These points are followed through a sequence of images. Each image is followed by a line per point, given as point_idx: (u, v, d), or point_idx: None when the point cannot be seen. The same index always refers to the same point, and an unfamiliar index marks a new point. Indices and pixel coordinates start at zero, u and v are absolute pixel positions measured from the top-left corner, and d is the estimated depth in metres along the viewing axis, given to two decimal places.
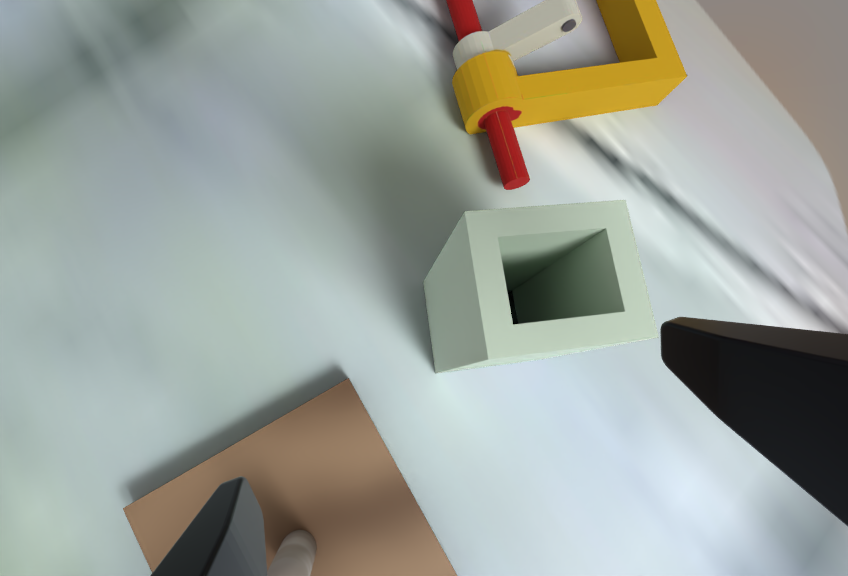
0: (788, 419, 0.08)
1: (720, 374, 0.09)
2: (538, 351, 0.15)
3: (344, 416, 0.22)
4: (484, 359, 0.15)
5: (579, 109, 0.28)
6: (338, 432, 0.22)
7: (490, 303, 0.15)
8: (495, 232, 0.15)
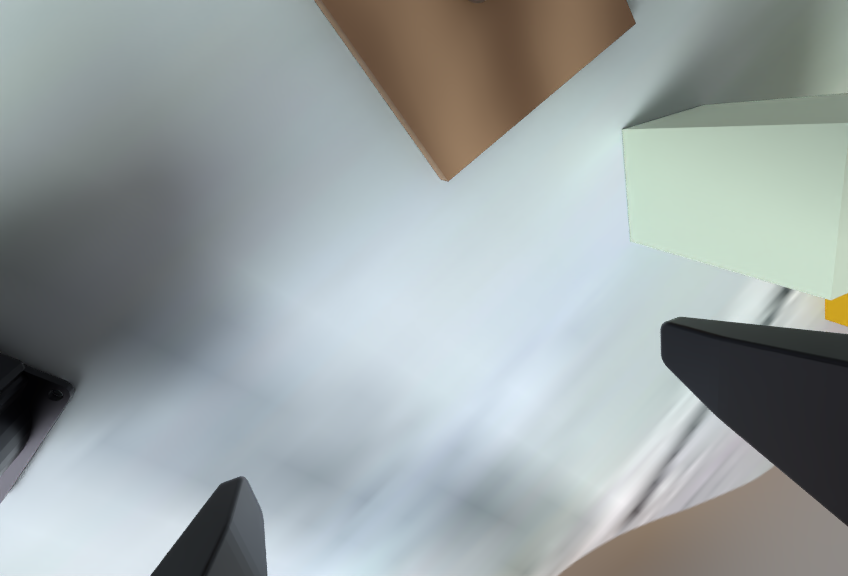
0: (788, 419, 0.08)
1: (720, 374, 0.09)
2: (845, 177, 0.14)
3: (601, 22, 0.20)
4: (832, 123, 0.14)
5: None
6: (586, 17, 0.19)
7: None
8: None
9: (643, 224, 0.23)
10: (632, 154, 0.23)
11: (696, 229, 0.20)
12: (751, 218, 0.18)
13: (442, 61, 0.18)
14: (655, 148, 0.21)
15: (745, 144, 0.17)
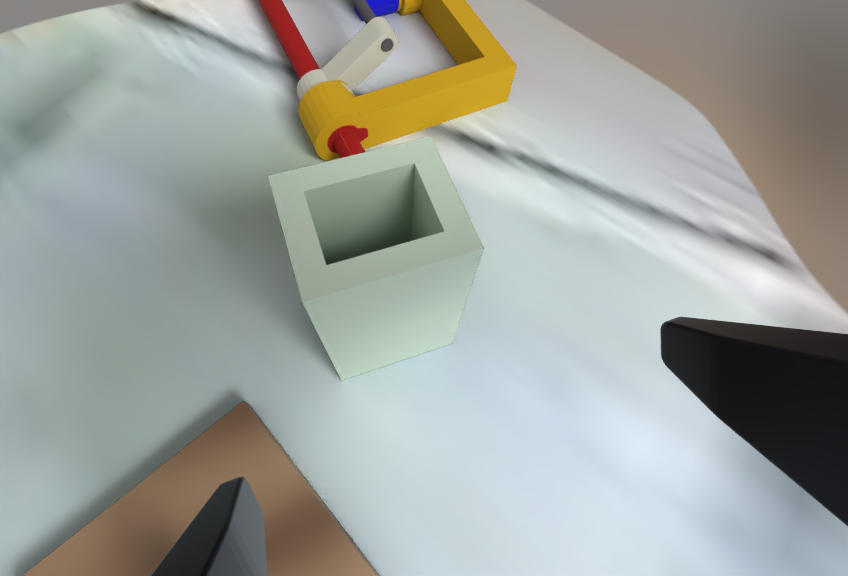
0: (789, 419, 0.08)
1: (720, 374, 0.09)
2: (355, 284, 0.14)
3: (242, 441, 0.20)
4: (305, 307, 0.14)
5: (427, 117, 0.29)
6: (237, 459, 0.20)
7: (300, 250, 0.14)
8: (302, 189, 0.16)
9: (432, 344, 0.23)
10: (364, 369, 0.22)
11: (429, 322, 0.20)
12: (410, 306, 0.17)
13: None
14: (354, 363, 0.21)
15: (337, 332, 0.17)
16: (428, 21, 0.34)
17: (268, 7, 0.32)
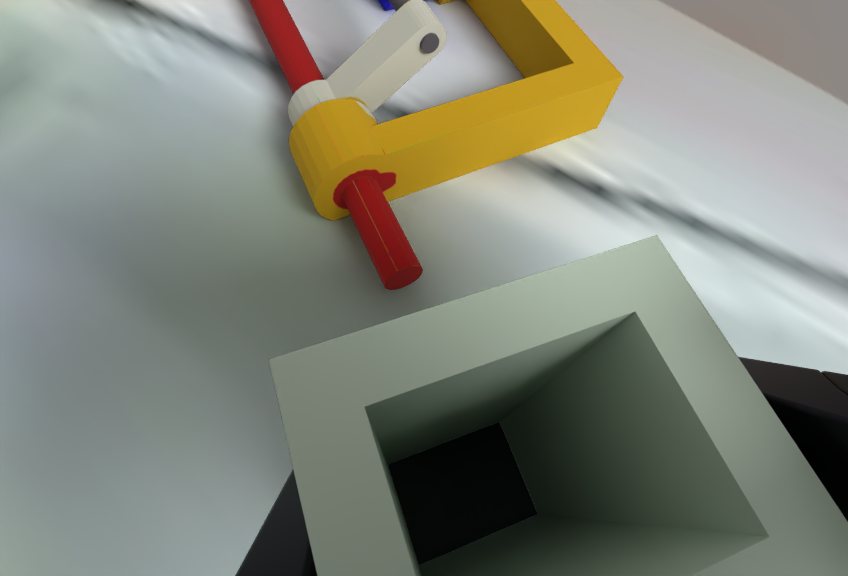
0: None
1: None
2: None
3: None
4: None
5: (484, 153, 0.19)
6: None
7: None
8: (361, 395, 0.06)
9: None
10: None
11: None
12: None
13: None
14: None
15: None
16: (478, 12, 0.24)
17: None
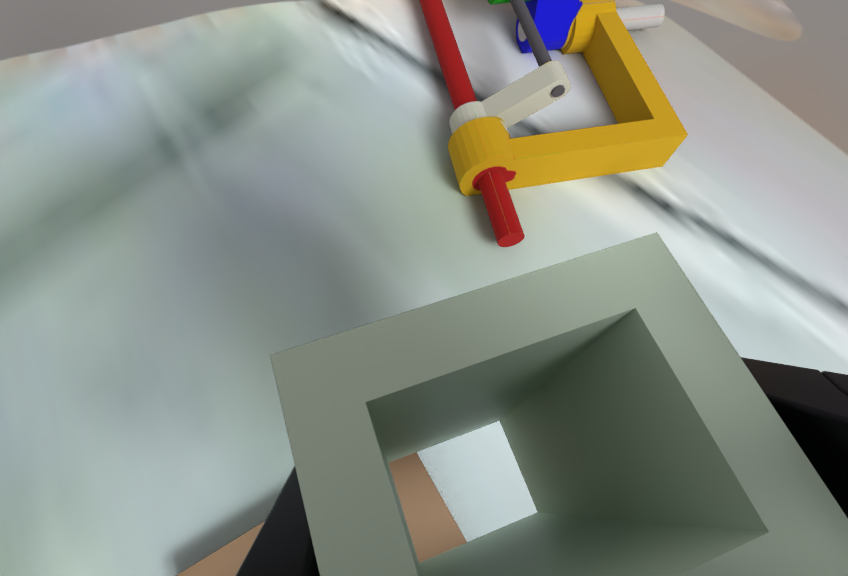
0: None
1: None
2: None
3: (402, 475, 0.20)
4: None
5: (577, 170, 0.28)
6: None
7: None
8: (361, 390, 0.06)
9: None
10: None
11: None
12: None
13: None
14: None
15: None
16: (590, 65, 0.33)
17: (435, 26, 0.31)
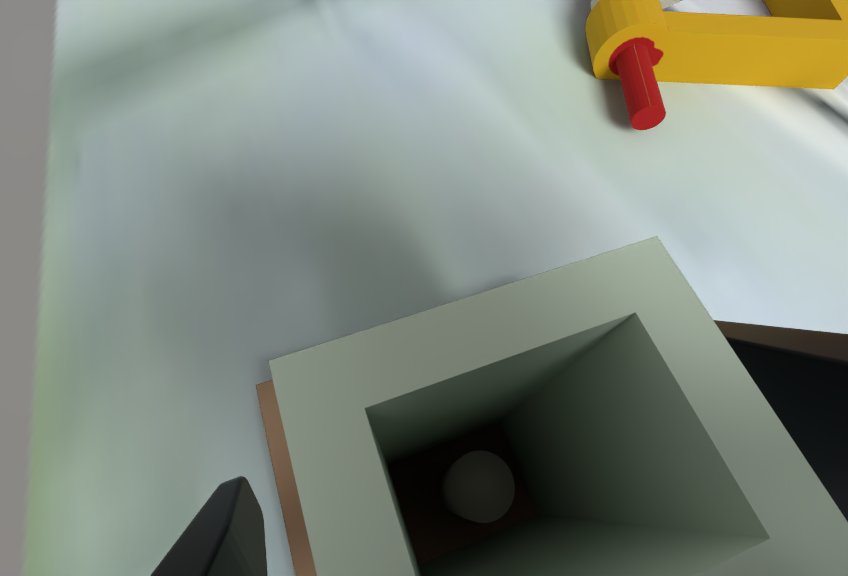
0: (789, 419, 0.08)
1: None
2: None
3: None
4: None
5: (733, 68, 0.24)
6: None
7: None
8: (361, 396, 0.06)
9: None
10: None
11: None
12: None
13: None
14: None
15: None
16: None
17: None
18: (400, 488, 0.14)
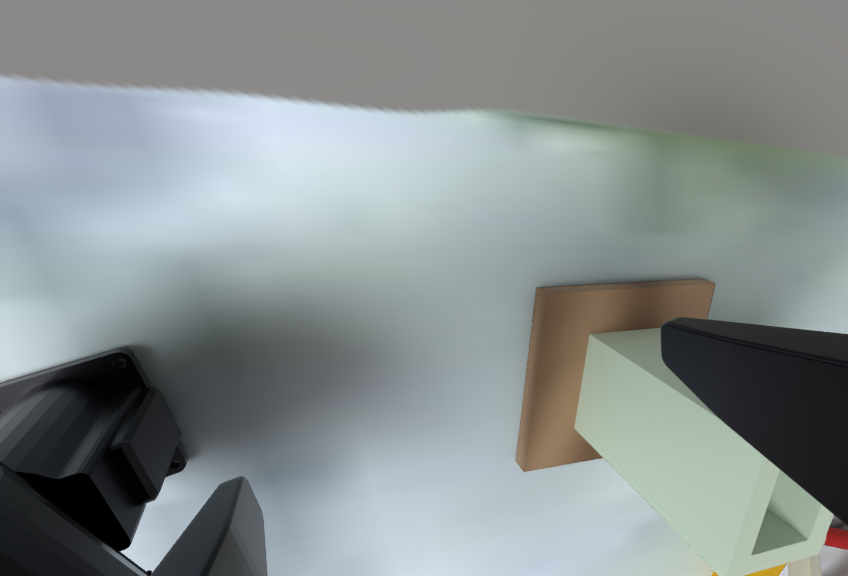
0: (788, 419, 0.08)
1: (720, 374, 0.09)
2: (755, 489, 0.16)
3: None
4: None
5: None
6: None
7: None
8: None
9: (588, 421, 0.25)
10: (593, 359, 0.24)
11: (630, 454, 0.22)
12: (676, 474, 0.19)
13: (572, 407, 0.26)
14: (612, 367, 0.23)
15: (684, 412, 0.19)
16: None
17: None
18: None
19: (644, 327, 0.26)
